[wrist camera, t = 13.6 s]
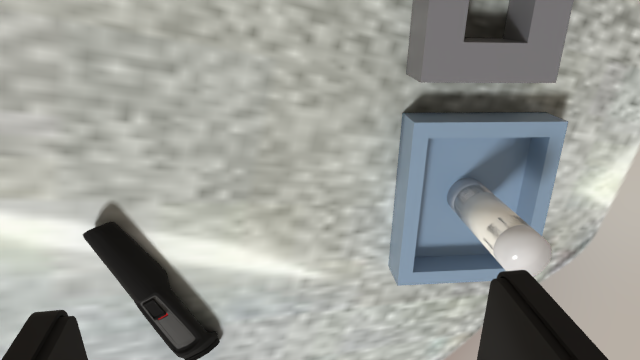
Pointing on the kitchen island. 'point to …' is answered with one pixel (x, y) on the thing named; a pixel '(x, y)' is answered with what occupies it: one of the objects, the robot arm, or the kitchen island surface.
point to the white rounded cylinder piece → (499, 227)
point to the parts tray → (467, 162)
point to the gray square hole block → (487, 43)
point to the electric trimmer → (151, 291)
